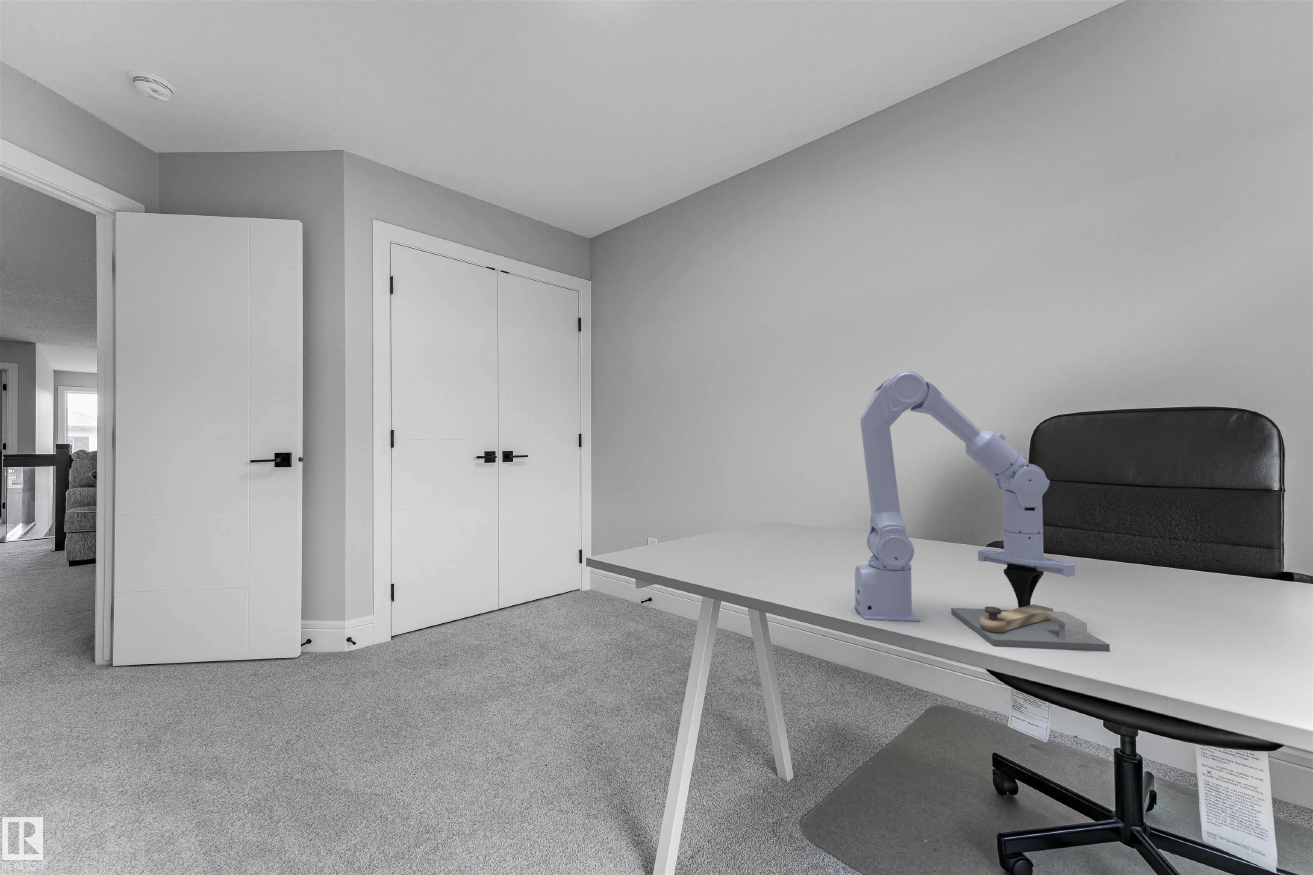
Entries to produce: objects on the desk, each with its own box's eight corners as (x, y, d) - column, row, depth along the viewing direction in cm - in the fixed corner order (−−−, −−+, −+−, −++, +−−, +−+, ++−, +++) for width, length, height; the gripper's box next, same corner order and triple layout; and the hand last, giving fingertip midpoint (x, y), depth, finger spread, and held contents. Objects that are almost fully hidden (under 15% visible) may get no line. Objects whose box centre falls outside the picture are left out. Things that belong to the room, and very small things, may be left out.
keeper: (1065, 642, 80) (1064, 622, 80) (1044, 629, 85) (1043, 611, 85) (1087, 643, 79) (1086, 623, 79) (1064, 630, 85) (1064, 611, 85)
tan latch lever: (998, 633, 83) (997, 613, 83) (975, 626, 86) (974, 607, 86) (1055, 618, 90) (1054, 599, 90) (1032, 612, 94) (1032, 593, 94)
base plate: (993, 645, 81) (993, 639, 81) (951, 613, 97) (951, 607, 97) (1109, 650, 79) (1109, 644, 79) (1046, 616, 95) (1046, 611, 95)
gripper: (1083, 535, 89) (1084, 616, 88) (991, 524, 101) (993, 595, 101) (1062, 539, 85) (1064, 624, 85) (970, 527, 98) (972, 601, 97)
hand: (1024, 609), depth 93 cm, fingers closed, pressing on tan latch lever
